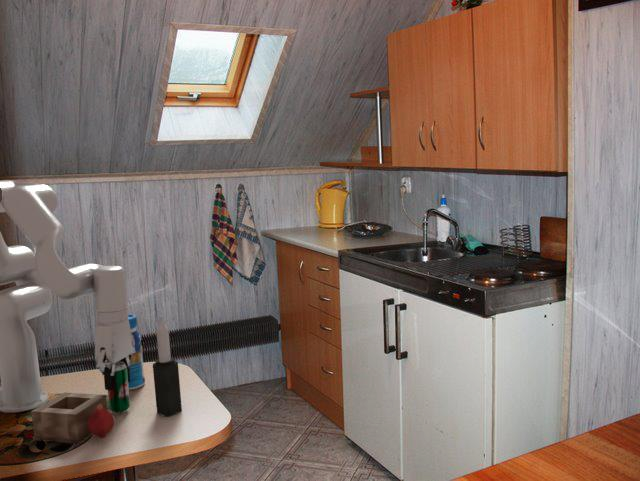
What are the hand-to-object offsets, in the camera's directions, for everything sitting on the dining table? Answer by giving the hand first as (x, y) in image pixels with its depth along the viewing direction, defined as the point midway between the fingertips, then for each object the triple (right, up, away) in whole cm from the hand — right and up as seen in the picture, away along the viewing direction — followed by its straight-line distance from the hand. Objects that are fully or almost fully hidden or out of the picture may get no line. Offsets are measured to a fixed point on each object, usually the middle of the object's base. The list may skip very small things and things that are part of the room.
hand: (117, 385), depth 168 cm
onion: (+1, -9, -14) cm, 17 cm away
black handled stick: (+13, -7, 0) cm, 15 cm away
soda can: (0, -7, +1) cm, 7 cm away
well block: (-8, -9, -9) cm, 15 cm away
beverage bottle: (-3, -5, +20) cm, 21 cm away
